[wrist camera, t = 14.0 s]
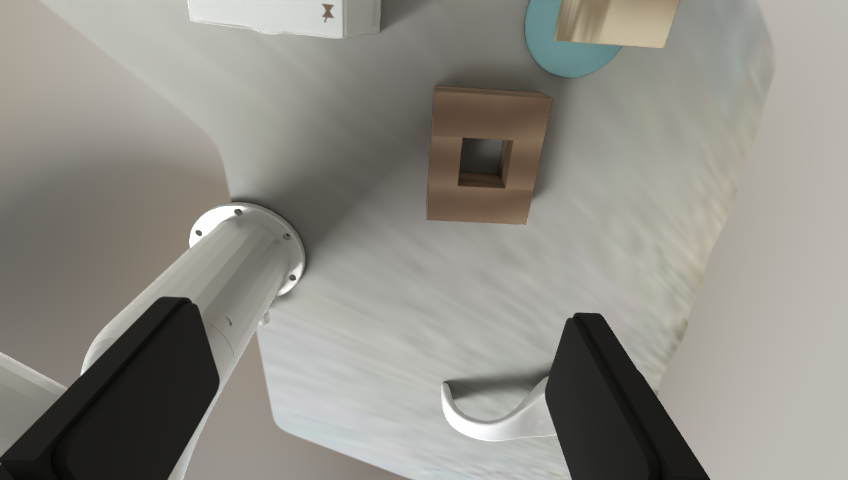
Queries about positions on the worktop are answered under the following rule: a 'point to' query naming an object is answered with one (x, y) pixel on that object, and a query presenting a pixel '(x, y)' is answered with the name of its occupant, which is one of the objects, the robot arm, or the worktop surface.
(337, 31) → the skincare box
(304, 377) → the worktop surface
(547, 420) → the spoon rest
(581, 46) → the teal rubber pad
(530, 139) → the walnut socket block
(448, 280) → the worktop surface
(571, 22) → the maple peg
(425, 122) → the worktop surface
